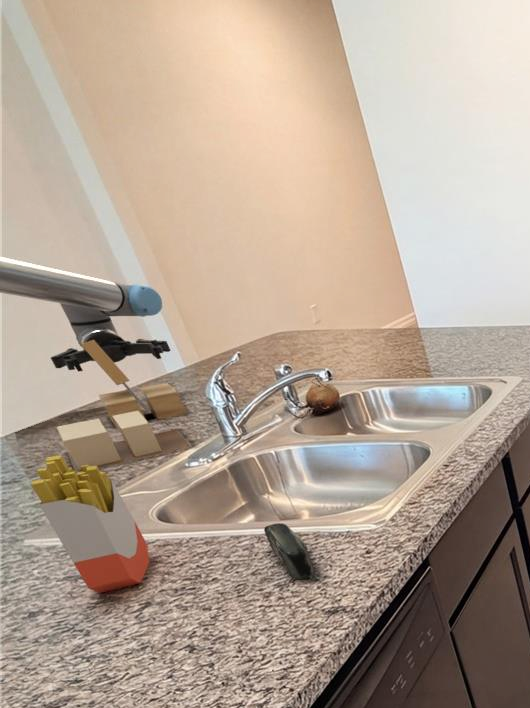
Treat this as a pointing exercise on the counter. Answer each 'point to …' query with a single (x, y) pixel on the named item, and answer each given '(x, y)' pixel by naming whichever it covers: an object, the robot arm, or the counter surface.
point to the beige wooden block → (137, 433)
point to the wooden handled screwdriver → (109, 367)
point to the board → (167, 444)
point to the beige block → (88, 443)
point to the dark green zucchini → (290, 551)
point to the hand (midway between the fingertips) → (118, 359)
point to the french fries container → (92, 525)
